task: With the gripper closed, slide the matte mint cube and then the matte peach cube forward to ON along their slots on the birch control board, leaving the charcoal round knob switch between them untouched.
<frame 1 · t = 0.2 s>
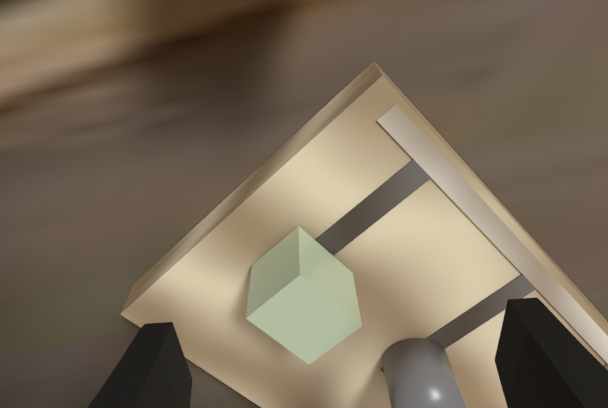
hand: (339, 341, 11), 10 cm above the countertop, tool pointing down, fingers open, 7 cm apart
control board: (404, 325, 24), on the countertop
matte mint cube: (303, 293, 19), point 4 cm above the countertop, slide at 0.0 cm
charcoal knob: (422, 389, 21), point 4 cm above the countertop, slide at 0.0 cm
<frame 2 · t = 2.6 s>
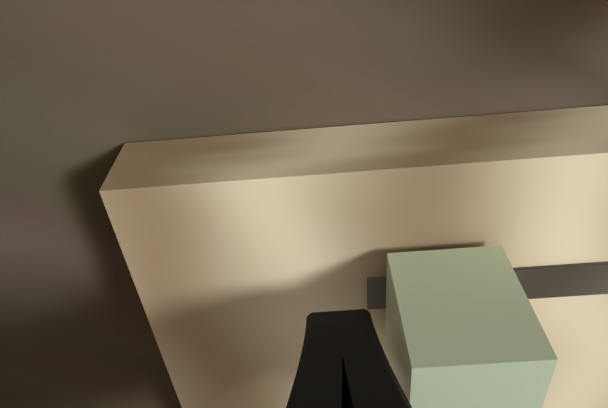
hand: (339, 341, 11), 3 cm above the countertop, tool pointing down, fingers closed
control board: (404, 388, 18), on the countertop
matte mint cube: (454, 348, 11), point 4 cm above the countertop, slide at 0.2 cm, touching gripper
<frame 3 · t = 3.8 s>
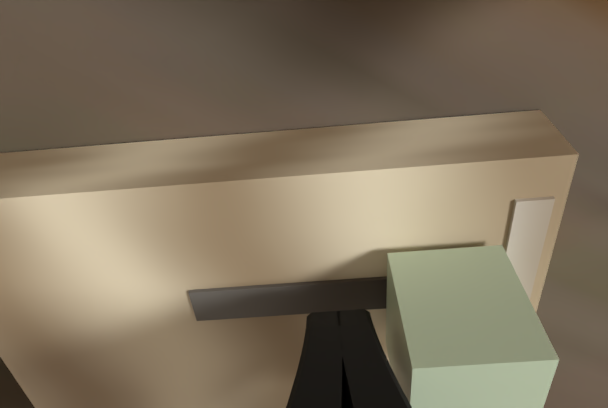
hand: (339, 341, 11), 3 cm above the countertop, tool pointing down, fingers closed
control board: (284, 395, 18), on the countertop
matte mint cube: (455, 348, 11), point 4 cm above the countertop, slide at 4.4 cm, touching gripper
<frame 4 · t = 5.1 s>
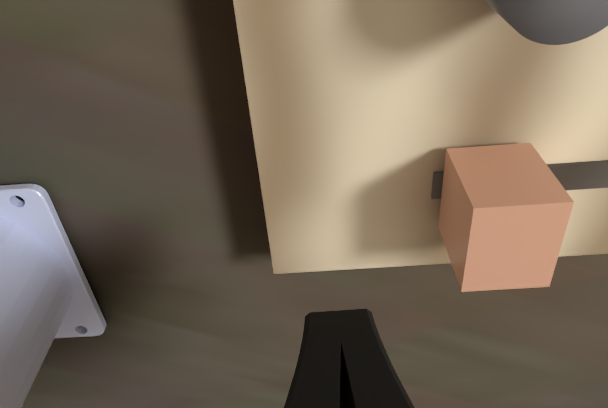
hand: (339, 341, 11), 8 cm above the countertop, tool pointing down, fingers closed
matte peach cube: (496, 215, 15), point 4 cm above the countertop, slide at 0.0 cm
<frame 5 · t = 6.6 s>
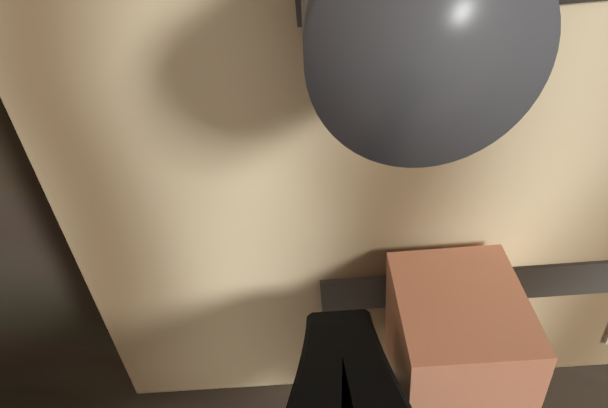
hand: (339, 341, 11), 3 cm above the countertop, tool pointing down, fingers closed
matte peach cube: (454, 347, 11), point 4 cm above the countertop, slide at 1.3 cm, touching gripper
charcoal knob: (406, 19, 7), point 4 cm above the countertop, slide at 0.0 cm
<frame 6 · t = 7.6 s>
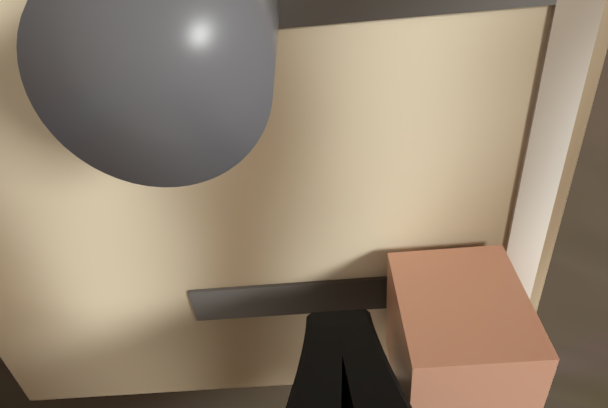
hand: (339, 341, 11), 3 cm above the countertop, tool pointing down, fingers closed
matte peach cube: (455, 348, 11), point 4 cm above the countertop, slide at 4.4 cm, touching gripper
charcoal knob: (173, 39, 7), point 4 cm above the countertop, slide at 0.0 cm
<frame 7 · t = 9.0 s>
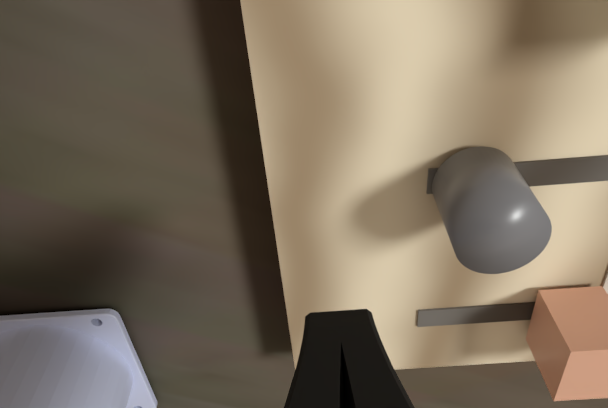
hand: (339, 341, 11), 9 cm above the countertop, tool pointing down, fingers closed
control board: (456, 148, 19), on the countertop
matte peach cube: (578, 342, 20), point 4 cm above the countertop, slide at 4.4 cm
charcoal knob: (486, 208, 16), point 4 cm above the countertop, slide at 0.0 cm
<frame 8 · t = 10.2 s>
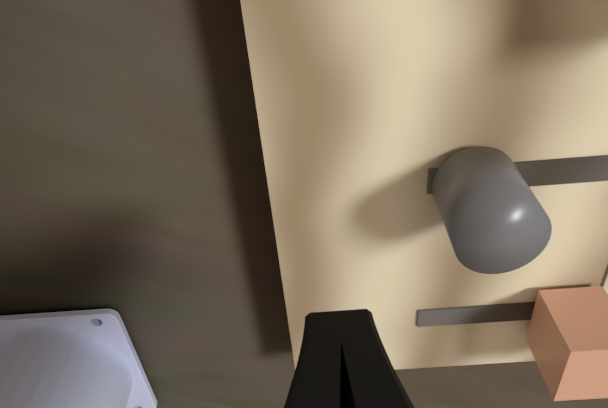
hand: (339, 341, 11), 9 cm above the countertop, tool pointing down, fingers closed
control board: (456, 148, 19), on the countertop
matte peach cube: (578, 342, 20), point 4 cm above the countertop, slide at 4.4 cm
charcoal knob: (486, 208, 16), point 4 cm above the countertop, slide at 0.0 cm
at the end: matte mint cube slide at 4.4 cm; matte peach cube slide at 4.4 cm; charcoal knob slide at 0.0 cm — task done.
